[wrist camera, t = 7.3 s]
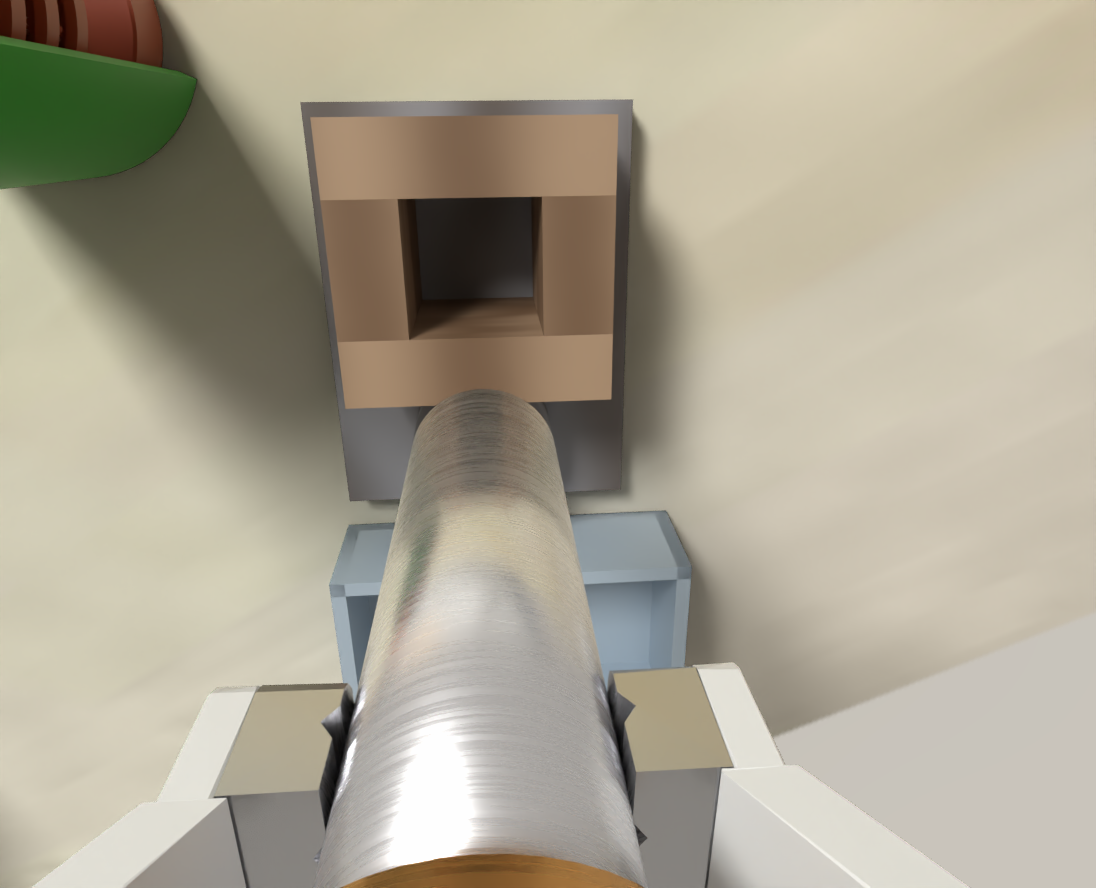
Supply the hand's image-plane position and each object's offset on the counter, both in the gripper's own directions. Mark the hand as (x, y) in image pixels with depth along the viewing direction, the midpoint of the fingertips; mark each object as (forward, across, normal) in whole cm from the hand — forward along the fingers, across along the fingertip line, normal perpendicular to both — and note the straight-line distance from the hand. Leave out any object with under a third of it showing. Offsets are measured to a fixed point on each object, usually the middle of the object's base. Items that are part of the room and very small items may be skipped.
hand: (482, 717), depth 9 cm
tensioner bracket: (+25, 0, +1) cm, 25 cm away
